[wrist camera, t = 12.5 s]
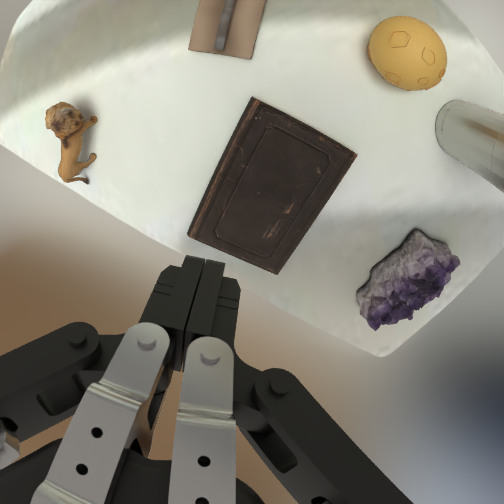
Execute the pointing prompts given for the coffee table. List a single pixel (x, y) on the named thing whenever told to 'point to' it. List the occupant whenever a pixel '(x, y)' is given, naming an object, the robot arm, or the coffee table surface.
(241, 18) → the rail
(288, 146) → the hardcover book
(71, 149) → the lion figurine
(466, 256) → the coffee table surface
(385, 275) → the geode
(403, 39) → the stress ball
